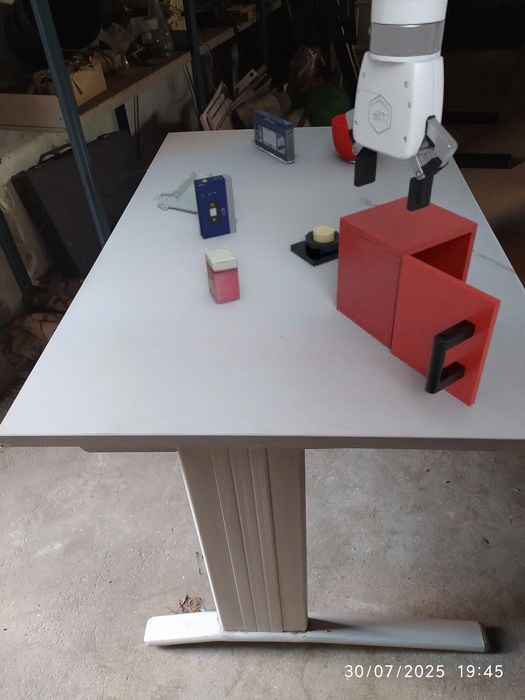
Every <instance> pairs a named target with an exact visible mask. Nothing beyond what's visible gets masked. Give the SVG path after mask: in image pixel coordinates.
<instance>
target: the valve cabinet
mask: <svg viewBox="0 0 525 700" xmlns="http://www.w3.org/2000/svg"><path fill="white" fill-rule="evenodd" d="M407 200H408V195H406V196H403V197H400V198H397V199H394V200H391V201H388V202H387V201H386V202H384V203H382V204H378V205H374V206H372V207H368V208H366V209H362V210H360V211H356V212H353V213H349V214H347V215H344V216H341V217H339V227H338V229H339V230H338V232H339V252H338V258H337V280H336V307H335V308H336V310H337V311H338V312H339V313H341V314H342V315H344V316H345V317H346V318H347V319H349V320H350V321H351V322H353V323H355V324H356V326H358V327H359V328H361V329H362V330H363V331H365V332H366V333H368V334H369V335H370V336H371V337H372V338H374V339H375V340H377V342H379V343H381V344H382V345H383V346H384V347H386V348H388V350H391V347H392V339H393V331H394V323H395V314H396V306H397V298H398V289H399V281H400V273H401V265H402V257H403V256H405V255H407V254H408V255H410V256H412V257H414V258H416V259H418V260H420V261H422V262H424V263H426V264H428V265H430V266H432V267H434V268H436V269H438V270H440V271H442V272H444V273H446V274H448V275H450V276H452V277H454V278H456V279H458V280H460V281H462V282H464V283H467V280H468V274H469V271H470V270H469V269H470V265H471V261H472V256H473V251H474V245H475V240H476V236H477V230H478V226H479V223H478V222H476V221H474V220H471V219H469V218H467V217H464V216H462V215H460V214H458V213H455V212H453V211H451V210H449V209H446V208H444V207H442V206H440V205H437V204H435V203H433V202H431V201H430V204H429V205H428V206H427V207H424V208H421V209H418V210H415V211H413V212H411V211H409V210H407Z"/></svg>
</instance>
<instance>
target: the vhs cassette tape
mask: <svg viewBox="0 0 525 700" xmlns="http://www.w3.org/2000/svg"><path fill="white" fill-rule="evenodd" d="M252 117H253V133H254V145H257V146H259V147H261V148H263V149H264V150H266V151H268V152H270V153H272V154H274V155H275V156H277V157H279V158H281V159H283V160H284V161H286V162H289V161H293V160H296V159H295V133H294V131H295V125H294V123H292V122H291V121H288V120H285V119H284V118H281V117H279V116H276V115H274V114H272V113H270V112H267V111H264V110H262V109H256V110H255V109H254V110H253V111H252Z"/></svg>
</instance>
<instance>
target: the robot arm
mask: <svg viewBox="0 0 525 700" xmlns="http://www.w3.org/2000/svg"><path fill="white" fill-rule="evenodd" d="M447 7H448V0H371V11H370V25H369V28H368V36H369V42H368V51H365V52H364V54H363V57H362V62H361V66H360V70H359V74H358V80H357V85H356V86H357V87H356V93H355V102H354V107H353V108H352V109H350V110H348V111H346V113H345V114H346V120H347V124H348V129H350V130H349V137H350V139H351V142H352V144H353V147H352V152H353V154H355V155H357V156H355V163H354V170H353V171H354V173H353V174H354V175H353V186H354V187H356V188H361V187H363V186H367V185H370V184H373V183H375V182H376V176H377V166H378V153H380V154H382V155H385V156H388V157H390V158H393V159H396V160H399V161H400V160H401V161H405V160H408V162H409V165H410V167H411V169H412V173H413V174H414V176H413V177H410V179H409V185H408V191H407V192H408V194H407V196H408V200H407V210H409V211H411V212H413V211H415V210H418V209H421V208H424V207H427V206H428V205H429V204H430V202H431V198H432V190H433V184H434V177H435V176H436V175H439V174H440V173H441V170H444V168H445V167H446V166H448V165H449V163H450V160H451V158H452V157H453V155H454V154H455V152H456V151H457V149H458V147H459V146H458V142H457V141H456V140H455V138H453V136H452V135H451V134H450V133H449V131H448V130H447V129H445V127H444V126H443V125H442V118H443V117H442V116H443V104H444V82H445V78H444V77H445V76H444V75H445V74H444V73H445V72H444V57H443V56H442V55H441V52H442V44H443V36H444V30H445V22H446V16H447V15H446V13H447ZM373 150H374V151H373ZM435 150H436V152H435ZM421 157H423V159H424V162H425V163H424V164H423V161H422V159H421Z"/></svg>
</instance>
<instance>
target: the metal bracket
mask: <svg viewBox="0 0 525 700" xmlns="http://www.w3.org/2000/svg"><path fill="white" fill-rule="evenodd" d="M213 176H214V175H213V171H209V172H208V174H207V175H204V174H197V172H196V171H193V170H192V171H191V172H190V174H189V176H188V177H187V178H186V180H184V181H182V182H181V184H179V186H178V187H177V188H176V189H175V190H174V193H173V195H172V196H167V195H166V196H165V195H163V196H162V197H161V199H160V200H159V201H158V202H157V207H159V208H160V209H161V210H163V211H167V210H168V209H169V208H171V209H177V210H180V211H186V212H190V213H196V215H195V216H196V218H198V210H197V203H196V195H195V187H194V180H197V179H202V178H208V177H213Z"/></svg>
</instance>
